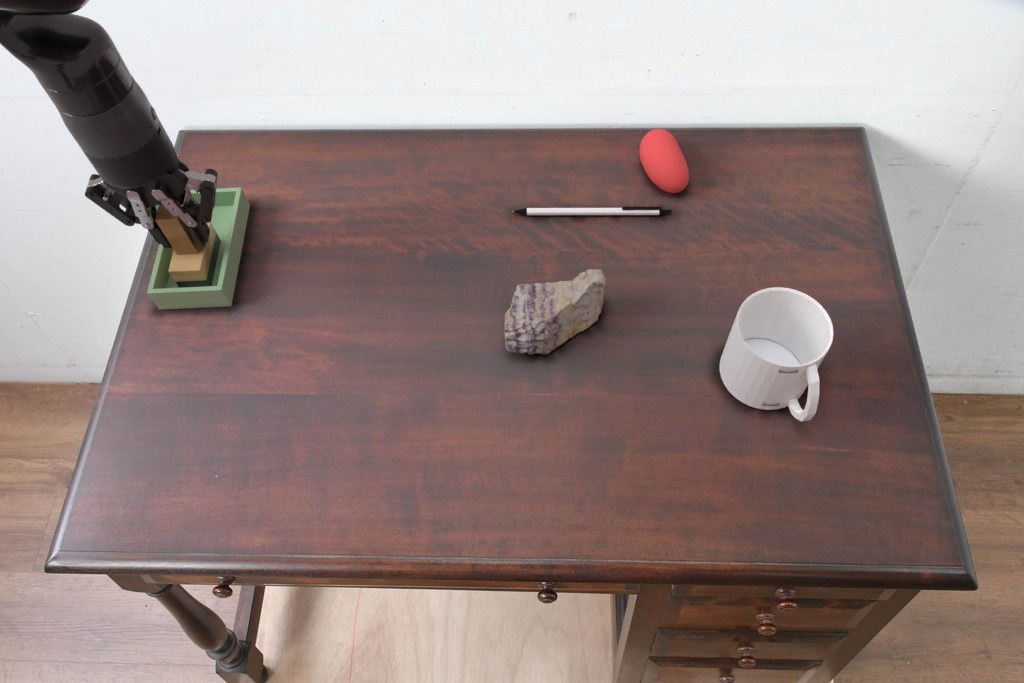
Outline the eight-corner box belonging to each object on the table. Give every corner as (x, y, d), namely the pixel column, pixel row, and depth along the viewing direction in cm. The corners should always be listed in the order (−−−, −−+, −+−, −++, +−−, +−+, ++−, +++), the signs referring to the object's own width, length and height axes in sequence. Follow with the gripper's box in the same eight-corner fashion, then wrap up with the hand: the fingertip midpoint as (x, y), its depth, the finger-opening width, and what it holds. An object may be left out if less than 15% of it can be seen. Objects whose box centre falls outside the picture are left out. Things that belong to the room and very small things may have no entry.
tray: (231, 306, 91) (221, 289, 88) (158, 309, 91) (146, 293, 88) (250, 205, 99) (241, 187, 96) (183, 208, 99) (172, 190, 96)
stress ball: (633, 202, 99) (659, 183, 93) (628, 133, 100) (653, 111, 94) (669, 205, 101) (697, 187, 95) (664, 138, 102) (690, 116, 96)
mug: (708, 343, 86) (724, 294, 78) (789, 331, 87) (813, 281, 79) (741, 444, 80) (763, 401, 72) (828, 430, 80) (860, 386, 72)
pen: (671, 216, 95) (672, 210, 95) (512, 216, 96) (512, 210, 95) (670, 210, 96) (671, 204, 95) (512, 211, 97) (512, 205, 96)
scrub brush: (211, 288, 92) (178, 236, 84) (180, 289, 92) (144, 237, 84) (221, 240, 95) (190, 185, 87) (191, 241, 95) (158, 187, 87)
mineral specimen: (572, 273, 92) (574, 238, 86) (612, 314, 89) (616, 281, 83) (482, 328, 88) (478, 296, 83) (520, 373, 85) (518, 343, 80)
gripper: (31, 159, 73) (117, 271, 88) (183, 152, 73) (244, 265, 88) (53, 103, 77) (132, 219, 92) (197, 95, 77) (253, 213, 92)
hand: (186, 241), depth 90 cm, fingers open, 3 cm apart
